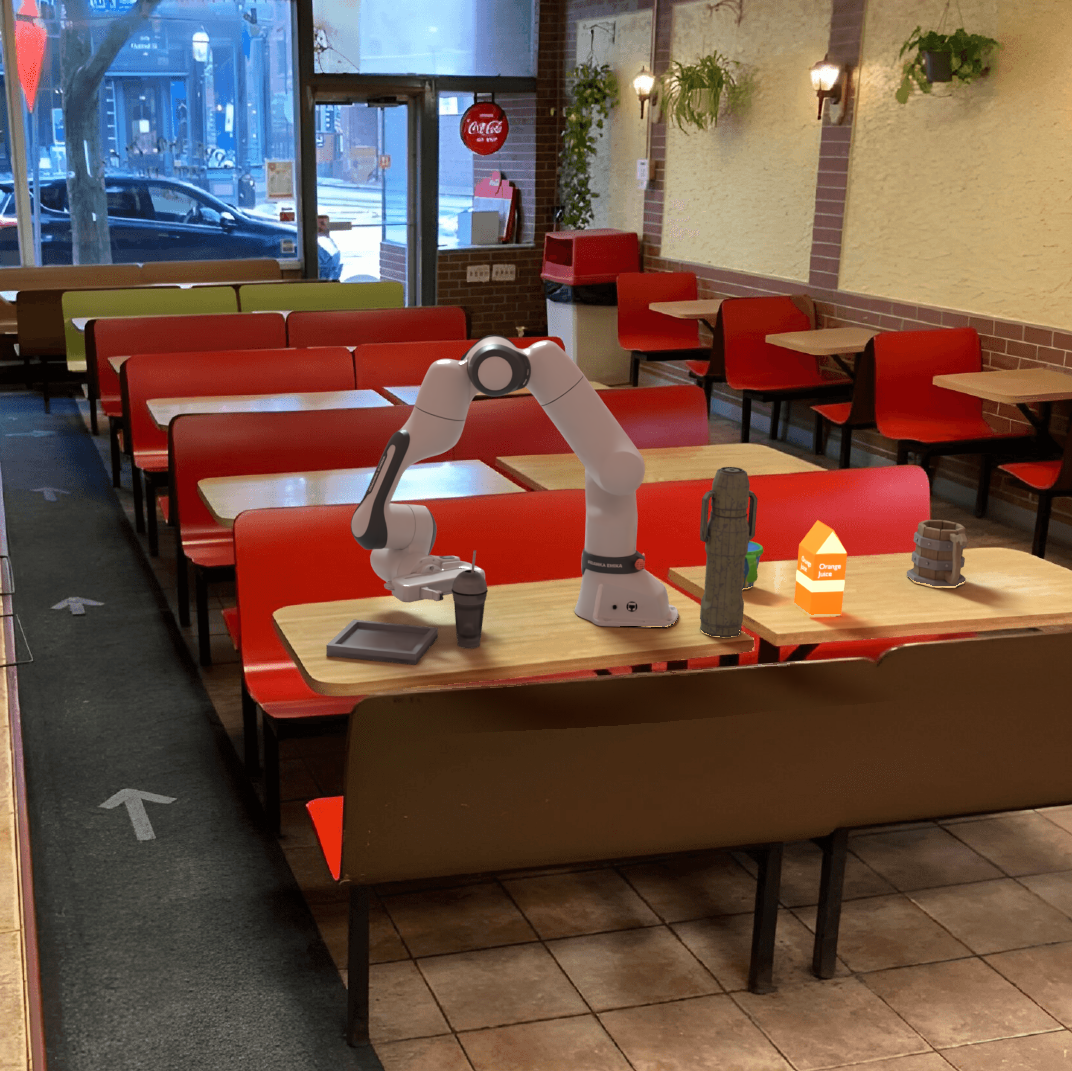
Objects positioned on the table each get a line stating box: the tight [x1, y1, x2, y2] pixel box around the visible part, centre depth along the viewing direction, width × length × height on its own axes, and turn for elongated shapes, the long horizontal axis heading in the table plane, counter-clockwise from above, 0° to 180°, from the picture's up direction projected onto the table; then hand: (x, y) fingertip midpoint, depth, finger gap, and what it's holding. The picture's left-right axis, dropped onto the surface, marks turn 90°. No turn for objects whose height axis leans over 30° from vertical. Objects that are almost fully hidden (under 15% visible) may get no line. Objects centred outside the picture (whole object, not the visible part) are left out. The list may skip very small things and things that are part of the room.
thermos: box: [699, 466, 759, 637], centre depth 276 cm, size 9×12×35 cm
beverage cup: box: [451, 549, 489, 649], centre depth 265 cm, size 7×7×20 cm
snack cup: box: [743, 540, 764, 588], centre depth 310 cm, size 16×10×10 cm
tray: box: [325, 619, 439, 666], centre depth 265 cm, size 18×16×2 cm
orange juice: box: [793, 519, 848, 615], centre depth 293 cm, size 8×9×20 cm
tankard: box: [906, 519, 969, 586], centre depth 316 cm, size 20×13×15 cm, turn 3°
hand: (460, 593), depth 268 cm, fingers open, 8 cm apart
